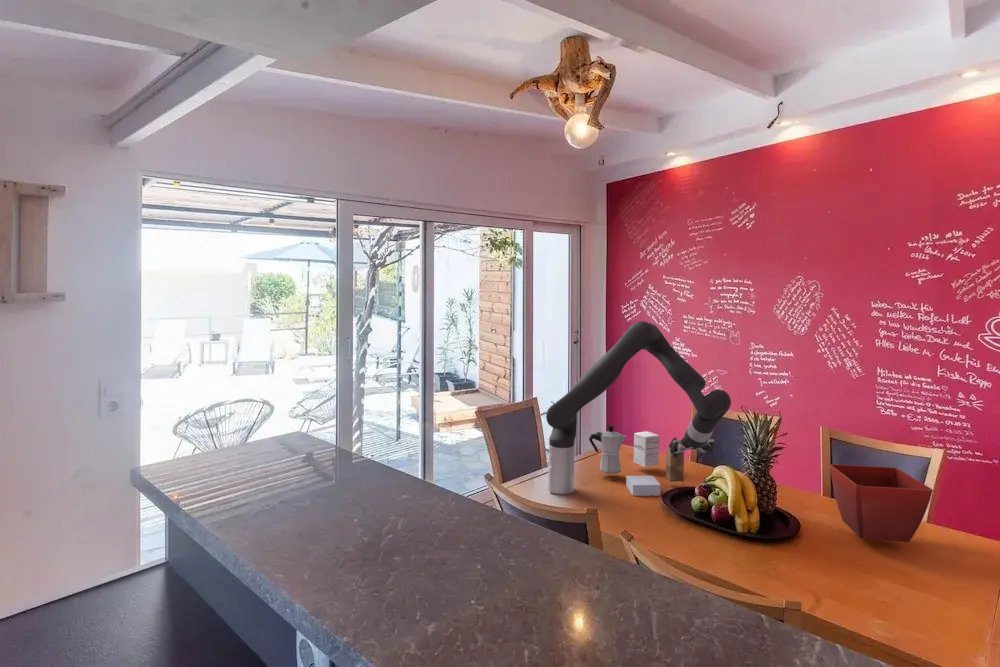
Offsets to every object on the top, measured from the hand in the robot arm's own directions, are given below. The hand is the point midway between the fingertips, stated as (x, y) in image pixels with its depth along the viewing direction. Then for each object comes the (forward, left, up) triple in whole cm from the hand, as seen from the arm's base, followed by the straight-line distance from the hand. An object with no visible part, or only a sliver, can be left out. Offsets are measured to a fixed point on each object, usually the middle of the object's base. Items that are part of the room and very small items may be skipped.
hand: (686, 455), depth 193 cm
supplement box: (-6, +30, -13) cm, 33 cm away
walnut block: (0, +12, -13) cm, 17 cm away
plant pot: (+44, -34, -13) cm, 57 cm away
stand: (-13, +8, -16) cm, 22 cm away
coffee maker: (-23, +23, -13) cm, 35 cm away
